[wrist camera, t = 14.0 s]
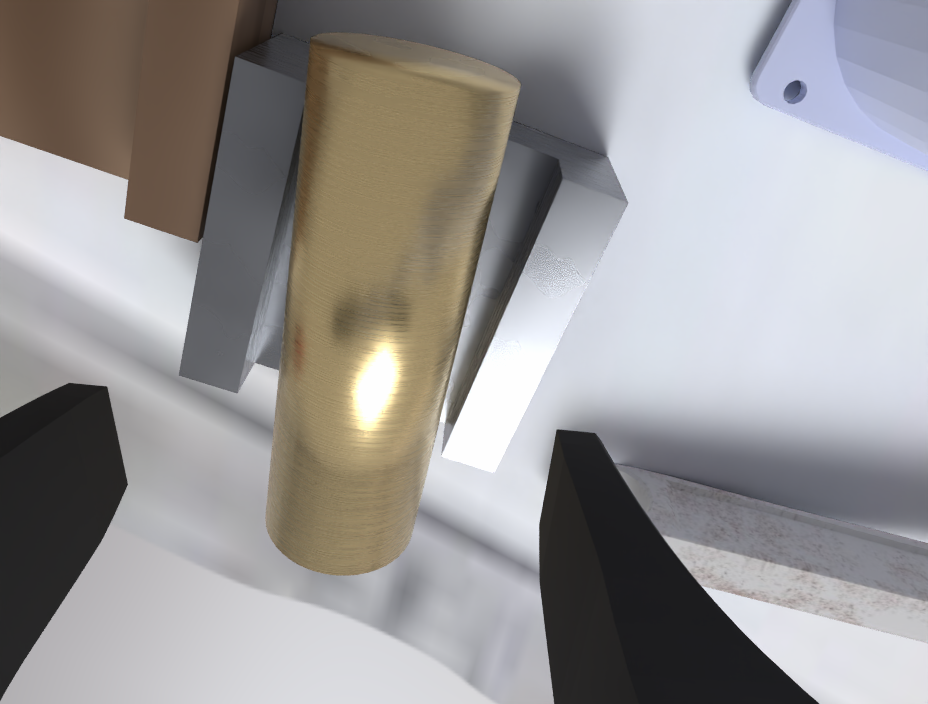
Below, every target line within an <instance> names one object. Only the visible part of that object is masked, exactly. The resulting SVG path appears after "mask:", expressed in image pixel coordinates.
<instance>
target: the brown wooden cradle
mask: <svg viewBox="0 0 928 704" xmlns="http://www.w3.org/2000/svg"><path fill="white" fill-rule="evenodd" d="M277 2H278V0H0V136H2V137H5V138H8V139H11V140H14V141H17V142H20V143H23V144H25V145H28V146H31V147H34V148H37V149H40V150H43V151H46V152H49V153H52V154H55V155H58V156H60V157H63V158H66V159H69V160H72V161H75V162H78V163H81V164H84V165H87V166H90V167H93V168H95V169H98V170H101V171H104V172H107V173H110V174H113V175H116V176H119V177H122V178H125V179H128V189H127V198H126V207H125V216H124V218H125V219H128V220H131V221H134V222H137V223H140V224H142V225H145V226H148V227H151V228H154V229H157V230H160V231H163V232H166V233H169V234H172V235H175V236H178V237H181V238H184V239H187V240H190V241H193V242H196V243H198V242H199V241H200V240H201V238H202V237H203V235H204V230H205V224H206V218H207V213H208V207H209V201H210V196H211V190H212V184H213V179H214V173H215V167H216V162H217V156H218V150H219V145H220V139H221V133H222V128H223V122H224V116H225V111H226V105H227V99H228V94H229V88H230V82H231V77H232V71H233V65H234V60H235V56H237V55H239V54H241V53H243V52H245V51H247V50H249V49H251V48H253V47H255V46H257V45H259V44H261V43H263V42H265V41H267V40H269V39H270V37H271V32H272V27H273V22H274V17H275V12H276V7H277Z"/></svg>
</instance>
